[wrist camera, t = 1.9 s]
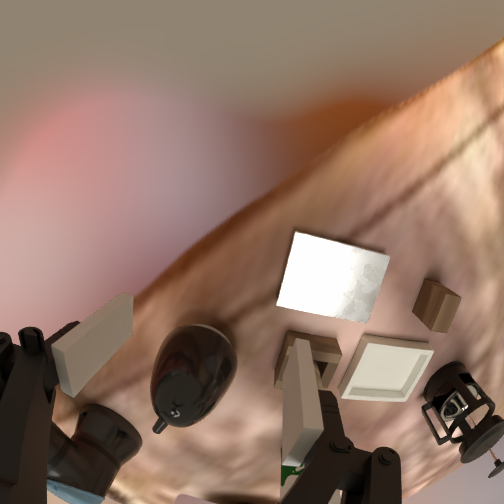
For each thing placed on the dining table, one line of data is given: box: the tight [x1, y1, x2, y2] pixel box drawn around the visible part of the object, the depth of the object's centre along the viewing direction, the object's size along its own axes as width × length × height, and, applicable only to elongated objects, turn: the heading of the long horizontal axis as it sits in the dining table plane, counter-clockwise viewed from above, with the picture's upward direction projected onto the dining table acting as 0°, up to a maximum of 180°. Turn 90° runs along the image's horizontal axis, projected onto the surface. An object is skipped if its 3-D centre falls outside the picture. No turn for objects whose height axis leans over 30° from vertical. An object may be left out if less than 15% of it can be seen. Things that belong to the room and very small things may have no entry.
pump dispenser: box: [150, 324, 237, 434], centre depth 30 cm, size 10×10×15 cm
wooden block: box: [412, 279, 462, 333], centre depth 30 cm, size 3×5×6 cm, turn 168°
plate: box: [277, 230, 390, 323], centre depth 33 cm, size 12×9×2 cm
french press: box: [421, 362, 504, 478], centre depth 25 cm, size 12×9×23 cm
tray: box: [338, 334, 434, 402], centre depth 34 cm, size 12×10×2 cm
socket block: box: [274, 330, 342, 390], centre depth 34 cm, size 7×7×4 cm
